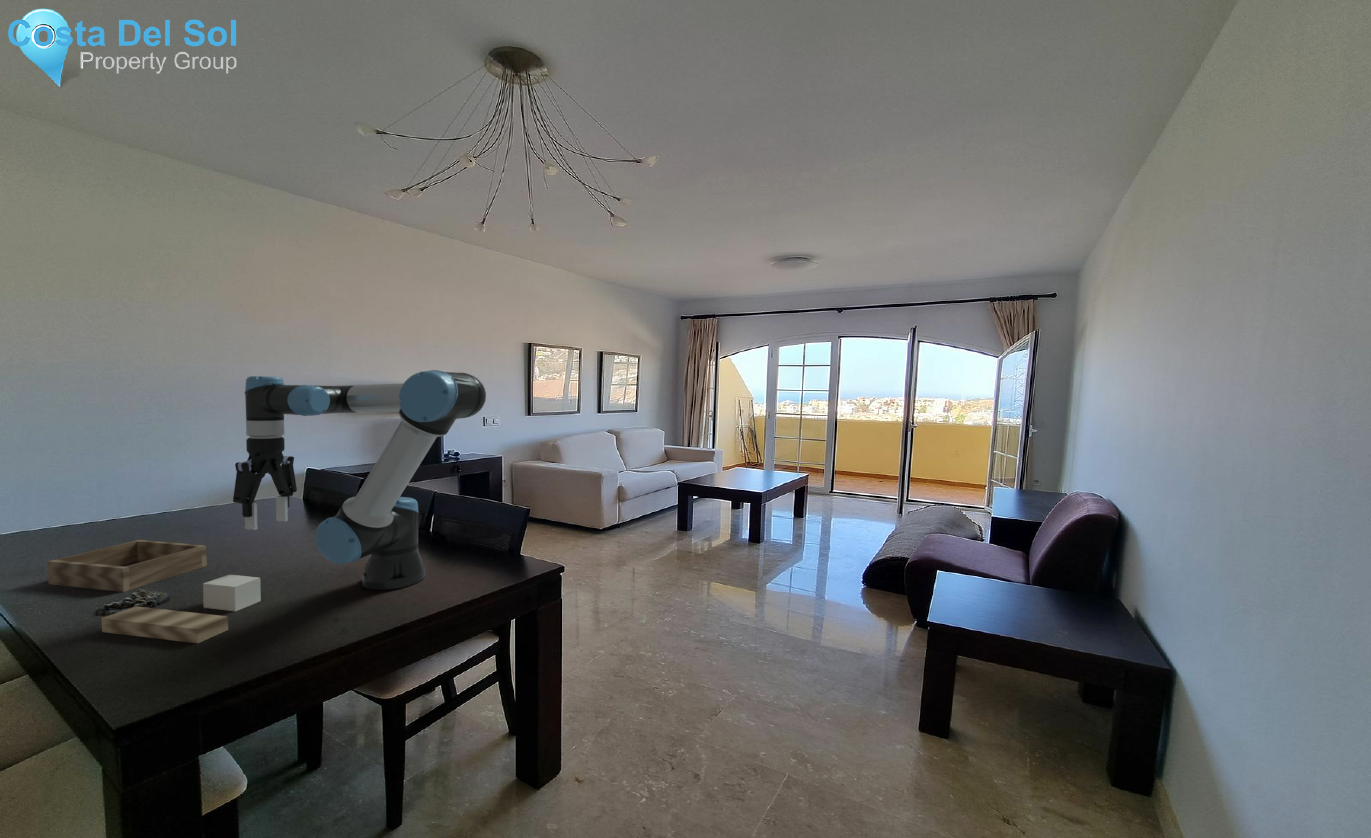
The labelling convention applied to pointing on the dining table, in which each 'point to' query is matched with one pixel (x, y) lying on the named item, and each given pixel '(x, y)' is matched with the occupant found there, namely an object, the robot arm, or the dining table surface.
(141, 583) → the wooden serving tray
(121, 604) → the crumpled grey lump
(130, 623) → the batten
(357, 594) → the dining table surface
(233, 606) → the block
